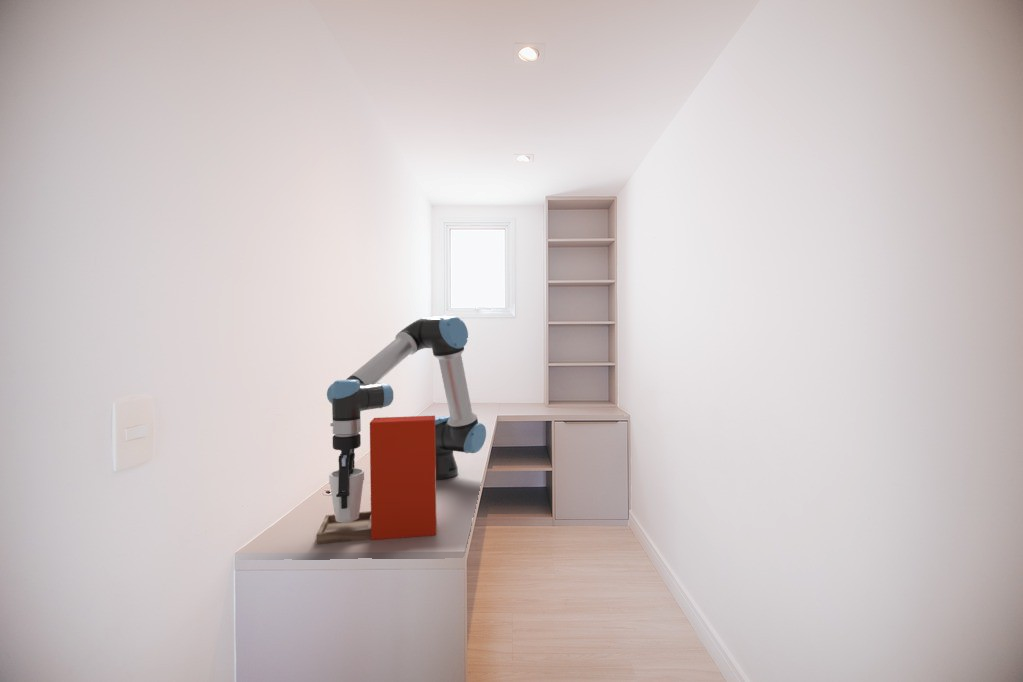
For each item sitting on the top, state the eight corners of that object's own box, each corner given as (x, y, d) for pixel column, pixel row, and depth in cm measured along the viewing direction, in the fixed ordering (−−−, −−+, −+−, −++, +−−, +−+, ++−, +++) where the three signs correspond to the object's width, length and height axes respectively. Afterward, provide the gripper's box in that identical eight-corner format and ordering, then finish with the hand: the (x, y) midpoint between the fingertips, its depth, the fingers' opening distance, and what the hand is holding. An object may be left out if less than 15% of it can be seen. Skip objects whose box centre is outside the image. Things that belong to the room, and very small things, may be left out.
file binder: (435, 536, 123) (434, 419, 123) (371, 540, 121) (369, 422, 121) (436, 524, 131) (435, 415, 131) (375, 528, 129) (374, 417, 129)
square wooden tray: (326, 523, 133) (325, 515, 133) (375, 518, 136) (375, 510, 136) (316, 544, 119) (316, 534, 119) (371, 538, 122) (371, 529, 122)
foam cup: (370, 518, 127) (370, 472, 127) (338, 527, 121) (338, 479, 121) (355, 509, 134) (355, 466, 134) (324, 518, 128) (323, 472, 128)
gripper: (338, 427, 138) (339, 500, 137) (325, 443, 116) (326, 529, 116) (364, 426, 139) (364, 498, 139) (356, 441, 118) (356, 526, 118)
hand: (347, 512), depth 128 cm, fingers closed on foam cup, 9 cm apart
